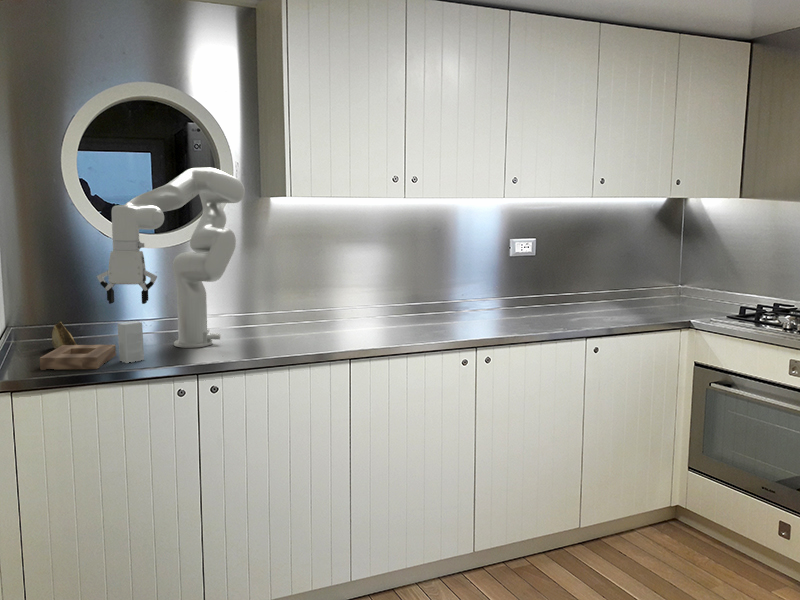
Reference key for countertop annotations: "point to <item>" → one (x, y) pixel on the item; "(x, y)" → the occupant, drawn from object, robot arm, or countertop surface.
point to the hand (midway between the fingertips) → (128, 303)
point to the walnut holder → (78, 357)
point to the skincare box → (130, 341)
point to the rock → (61, 336)
